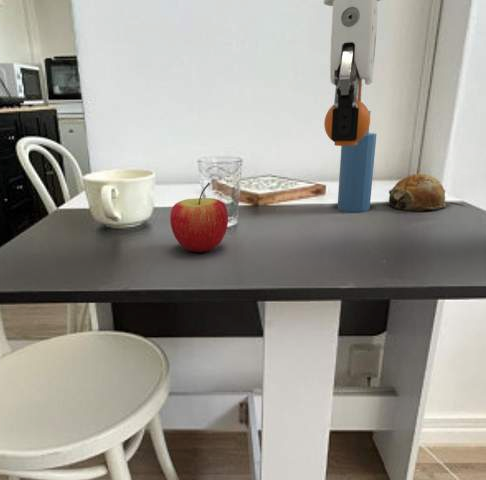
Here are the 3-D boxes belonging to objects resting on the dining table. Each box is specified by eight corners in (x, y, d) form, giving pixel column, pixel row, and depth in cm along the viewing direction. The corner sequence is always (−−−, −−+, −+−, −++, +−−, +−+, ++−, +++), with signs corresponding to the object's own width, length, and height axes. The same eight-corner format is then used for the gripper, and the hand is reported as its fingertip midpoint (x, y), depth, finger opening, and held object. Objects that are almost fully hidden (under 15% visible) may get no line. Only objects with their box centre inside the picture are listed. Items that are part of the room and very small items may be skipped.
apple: (230, 257, 62) (228, 186, 58) (170, 259, 62) (165, 189, 58) (227, 240, 70) (225, 177, 66) (174, 242, 70) (169, 179, 66)
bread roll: (438, 230, 82) (465, 191, 79) (389, 207, 82) (413, 168, 79) (423, 217, 91) (446, 182, 88) (378, 197, 91) (400, 161, 88)
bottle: (354, 204, 90) (362, 110, 83) (376, 209, 84) (386, 110, 78) (331, 207, 87) (336, 112, 81) (351, 213, 82) (359, 111, 76)
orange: (347, 141, 65) (350, 98, 62) (378, 144, 60) (382, 96, 57) (314, 145, 62) (316, 100, 60) (343, 148, 57) (346, 98, 55)
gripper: (387, -36, 45) (372, 144, 52) (388, -4, 60) (376, 133, 67) (314, -26, 48) (308, 145, 55) (332, 3, 63) (326, 134, 69)
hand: (346, 137), depth 61 cm, fingers closed on orange, 6 cm apart
